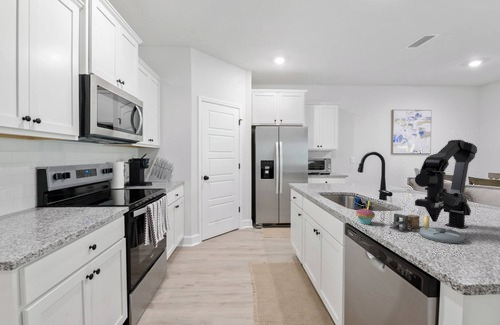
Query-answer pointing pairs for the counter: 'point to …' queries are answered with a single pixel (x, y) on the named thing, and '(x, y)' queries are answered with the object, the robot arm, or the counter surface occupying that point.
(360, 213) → the cupcake
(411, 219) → the grey brown long block
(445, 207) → the robot arm
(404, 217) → the eye bracket
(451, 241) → the handwheel
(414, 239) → the counter surface
